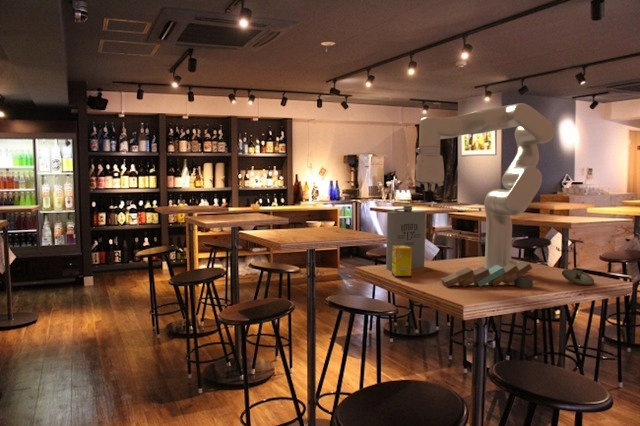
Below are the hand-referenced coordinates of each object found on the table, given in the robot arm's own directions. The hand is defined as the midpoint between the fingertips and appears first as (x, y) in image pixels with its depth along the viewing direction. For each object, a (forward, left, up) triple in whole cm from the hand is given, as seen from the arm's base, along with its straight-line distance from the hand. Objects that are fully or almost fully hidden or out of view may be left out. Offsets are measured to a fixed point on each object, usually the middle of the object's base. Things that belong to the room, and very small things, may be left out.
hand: (428, 201), depth 193 cm
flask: (+4, -14, -27) cm, 31 cm away
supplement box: (+10, +2, -27) cm, 29 cm away
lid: (-49, +17, -27) cm, 58 cm away
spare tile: (-11, +19, -26) cm, 34 cm away
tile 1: (0, +19, -26) cm, 32 cm away
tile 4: (-16, +19, -26) cm, 36 cm away
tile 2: (-6, +19, -26) cm, 33 cm away
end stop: (-27, +19, -27) cm, 43 cm away
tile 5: (-21, +19, -26) cm, 38 cm away
